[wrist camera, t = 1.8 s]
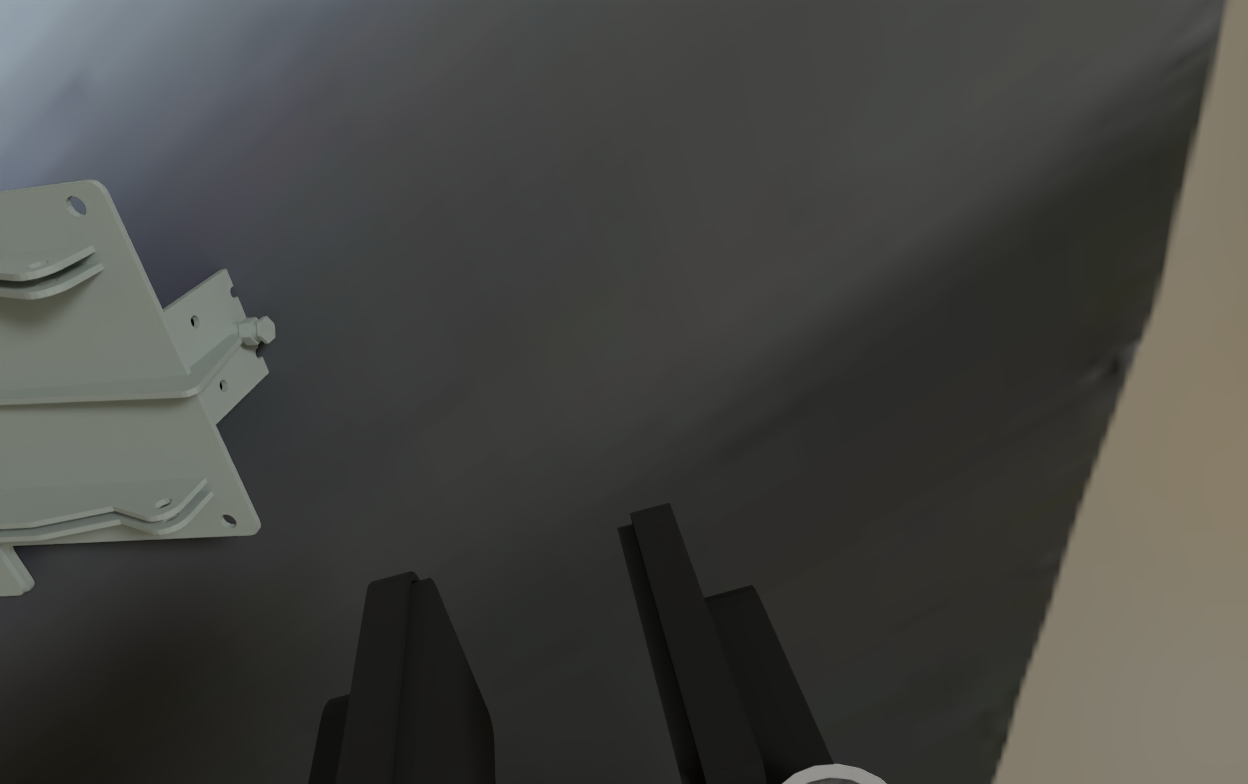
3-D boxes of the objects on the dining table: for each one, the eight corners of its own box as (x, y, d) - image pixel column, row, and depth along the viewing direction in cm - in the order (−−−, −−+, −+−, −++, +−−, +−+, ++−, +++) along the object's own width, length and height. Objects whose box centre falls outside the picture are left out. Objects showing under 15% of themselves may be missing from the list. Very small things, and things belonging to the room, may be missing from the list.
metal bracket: (31, 106, 17) (280, 624, 25) (189, 62, 22) (358, 504, 30) (-475, 185, 20) (-115, 633, 27) (-232, 130, 25) (18, 521, 32)
